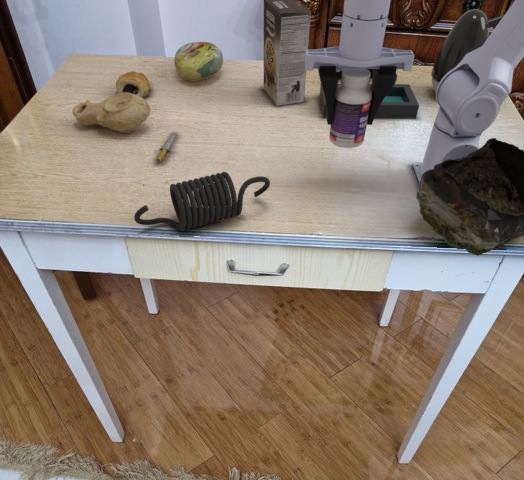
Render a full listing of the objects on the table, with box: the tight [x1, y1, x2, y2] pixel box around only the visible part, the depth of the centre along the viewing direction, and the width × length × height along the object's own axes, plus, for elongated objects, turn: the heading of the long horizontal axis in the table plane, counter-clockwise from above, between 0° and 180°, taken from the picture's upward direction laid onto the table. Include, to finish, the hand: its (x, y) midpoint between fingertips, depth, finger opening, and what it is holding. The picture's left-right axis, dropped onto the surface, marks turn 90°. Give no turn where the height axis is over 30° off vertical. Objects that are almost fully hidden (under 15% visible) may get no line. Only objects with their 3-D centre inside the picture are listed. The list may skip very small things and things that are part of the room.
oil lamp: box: [71, 92, 152, 134], centre depth 86 cm, size 11×14×5 cm
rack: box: [319, 83, 420, 119], centre depth 94 cm, size 10×18×2 cm, turn 89°
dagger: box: [156, 134, 176, 163], centre depth 83 cm, size 11×1×2 cm
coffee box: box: [263, 0, 312, 107], centre depth 92 cm, size 9×6×16 cm
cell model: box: [173, 41, 224, 82], centre depth 103 cm, size 11×8×15 cm
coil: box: [133, 171, 271, 232], centre depth 67 cm, size 7×20×9 cm
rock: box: [415, 137, 524, 257], centre depth 65 cm, size 18×20×10 cm
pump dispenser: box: [430, 8, 503, 93], centre depth 92 cm, size 10×10×15 cm
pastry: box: [115, 70, 150, 98], centre depth 97 cm, size 9×7×4 cm
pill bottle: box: [328, 69, 372, 149], centre depth 68 cm, size 5×5×10 cm
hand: (349, 121), depth 69 cm, fingers closed on pill bottle, 5 cm apart
